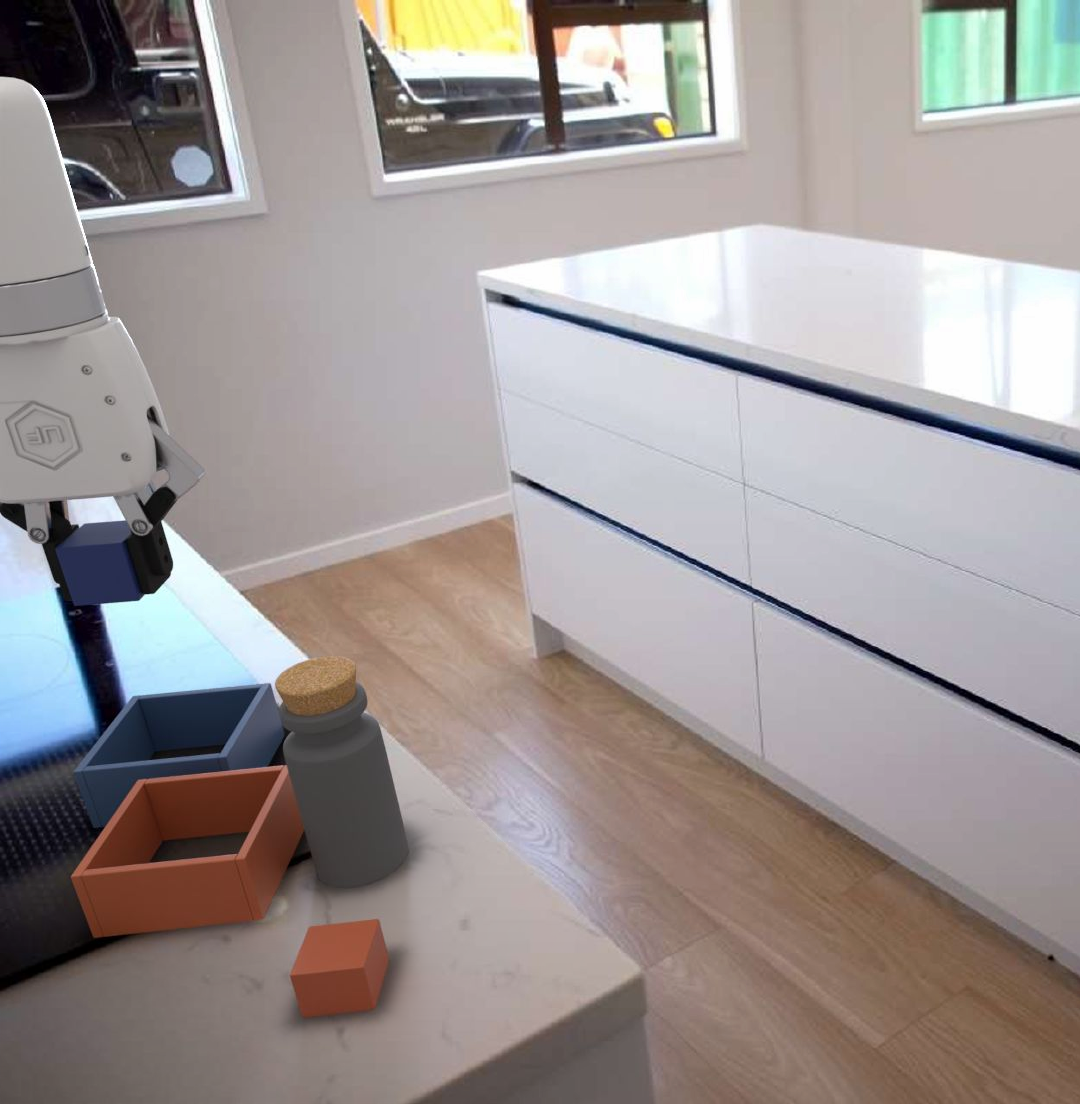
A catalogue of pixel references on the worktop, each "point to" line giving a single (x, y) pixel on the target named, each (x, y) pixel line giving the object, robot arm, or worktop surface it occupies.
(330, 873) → the bottle
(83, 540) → the navy block
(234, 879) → the terracotta bin
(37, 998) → the worktop surface
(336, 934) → the terracotta block
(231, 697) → the blue bin
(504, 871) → the worktop surface
